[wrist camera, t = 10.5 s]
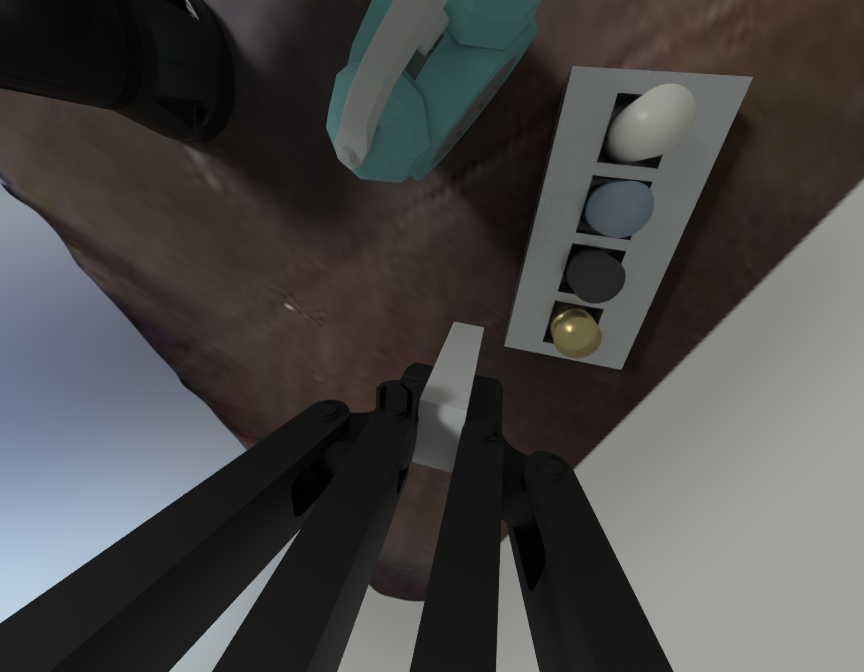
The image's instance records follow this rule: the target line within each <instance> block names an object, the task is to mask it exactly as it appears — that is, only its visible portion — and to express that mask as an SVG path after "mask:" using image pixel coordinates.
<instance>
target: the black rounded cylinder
mask: <svg viewBox="0 0 864 672" xmlns="http://www.w3.org/2000/svg"><path fill="white" fill-rule="evenodd" d="M563 273H564V276H565V278H566V280H567V281H568V283H569V284H570V286H571V288H572V289H573V291H574V292H575V294H576V295H577V297H578V298H580V299H581V300H583V301H585V302H587V303H593V304H598V303H603V302H606V301H609V300H611V299H612V298H614V297H615V296H616V295H617V294H618V293H619V292H620V291H621V290H622V288H623V286H624V283H625V279H626V274H625V270H624V268H623V266H622V264H621V263H620V262H619V261H617V260H616V259H614V258H613V257H611V256H610V255H608V254H607V253H605V252H604V251H602V250H601V249H599V248H597V247H594V246H582V247H579V248H577V249H575V250H573V251H572V252H571V253H570V254H569V255H568V259H567V262H566V265H565V269H564V272H563Z"/></svg>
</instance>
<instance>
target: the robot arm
mask: <svg viewBox="0 0 864 672" xmlns="http://www.w3.org/2000/svg"><path fill="white" fill-rule="evenodd" d="M0 88H1V89H6V90H11V91H17V92H22V93H27V94H32V95H37V96H43V97H48V98H53V99H58V100H63V101H68V102H73V103H78V104H83V105H88V106H94V107H99V108H104V109H109V110H113V111H115V112H117V113H119V114H121V115H123V116H125V117H127V118H129V119H131V120H133V121H135V122H137V123H139V124H140V125H142V126H144V127H146V128H148V129H150V130H152V131H154V132H156V133H158V134H160V135H163V136H165V137H168V138H171V139H176V140H182V141H188V142H202V141H206V140H209V139H211V138H212V137H214V136H215V135H216V134H218V133H219V132H220V130H221V129H222V128H223V126H224V125H225V123H226V121H227V119H228V117H229V114H230V111H231V107H232V102H233V93H234V80H233V70H232V64H231V59H230V55H229V51H228V48H227V45H226V42H225V39H224V37H223V35H222V32H221V30H220V28H219V26H218V24H217V22H216V20H215V19H214V17H213V15H212V14H211V12H210V11H209V9H208V8H207V7H206V5H205V4H204V3H203V2H202V0H0ZM483 330H484V327H479V326H473V325H468V324H463V323H458V322H454V323H453V325H452V328H451V330H450V332H449V334H448V337H447V339H446V341H445V343H444V346H443V348H442V350H441V353H440V355H439V357H438V359H437V362H436V364H435V366H429V365H425V364H420V363H414V364H412V365H411V366H409V367H407V369H406V371H405V372H404V374H403V376H402V377H401V379H400V381H399V380H392V381H386V382H384V383H381V384H380V385H379V386H378V387H377V392H376V409H375V410H374V411H372V412H366V413H350V410H349V408H348V406H347V405H346V404H344V403H343V402H341V401H337V400H324V401H320V402H317V403H315V404H313V405H312V406H310V407H309V408H307V409H306V410H304V411H303V412H302V413H300V414H299V415H297V416H296V417H294V418H293V419H292V420H290V421H289V422H287V423H286V424H284V425H283V426H282V427H280V428H279V429H277V430H276V431H274V432H273V433H272V434H270V435H269V436H267V437H266V438H264V439H263V440H262V441H260V442H259V443H257V444H256V445H254V446H253V447H252V448H250V449H249V450H247V451H246V452H244V453H243V454H242V455H240V456H239V457H237V458H236V459H234V460H233V461H232V462H230V463H229V464H227V465H226V466H224V467H223V468H222V469H220V470H219V471H217V472H216V473H214V474H213V475H212V476H210V477H209V478H207V479H206V480H204V481H203V482H202V483H200V484H199V485H197V486H196V487H194V488H193V489H192V490H190V491H189V492H188V493H186V494H184V495H183V496H182V497H180V498H179V499H177V500H176V501H174V502H173V503H172V504H170V505H169V506H167V507H166V508H165V509H163V510H162V511H160V512H159V513H157V514H156V515H155V516H153V517H152V518H150V519H149V520H147V521H146V522H144V523H143V524H142V525H140V526H139V527H137V528H136V529H134V530H133V531H132V532H130V533H129V534H127V535H126V536H125V537H123V538H122V539H120V540H119V541H117V542H116V543H114V544H113V545H112V546H110V547H109V548H107V549H106V550H104V551H103V552H102V553H100V554H99V555H98V556H96V557H94V558H93V559H92V560H90V561H89V562H87V563H86V564H84V565H83V566H82V567H80V568H79V569H77V570H76V571H74V572H73V573H72V574H70V575H69V576H67V577H66V578H64V579H63V580H62V581H60V582H59V583H57V584H56V585H55V586H53V587H52V588H50V589H49V590H47V591H46V592H45V593H43V594H42V595H40V596H39V597H37V598H36V599H34V600H33V601H32V602H30V603H29V604H28V605H26V606H25V607H23V608H22V609H20V610H19V611H17V612H16V613H14V614H13V615H12V616H10V617H9V618H7V619H6V620H4V621H3V622H2V623H0V672H169V671H170V670H171V668H173V667H174V665H175V664H176V663H177V662H178V661H179V660H180V659H181V658H182V657H183V656H184V655H185V653H186V652H187V651H188V650H189V649H190V648H191V647H192V646H193V645H194V644H195V643H196V642H197V640H198V639H199V638H200V637H201V636H202V635H203V634H204V633H205V632H206V631H207V629H208V628H210V626H211V625H212V624H213V623H214V622H215V621H216V620H217V619H218V618H219V617H220V616H221V614H222V613H223V612H224V611H225V610H226V609H227V608H228V607H229V606H230V605H231V604H232V603H233V601H234V600H235V599H236V598H237V597H238V596H239V595H240V594H241V593H242V592H243V591H244V590H245V588H246V587H247V586H248V585H249V584H250V583H251V582H252V581H253V580H254V579H255V578H256V577H257V575H258V574H259V573H260V572H261V571H262V570H263V569H264V568H265V567H266V566H267V565H268V564H269V562H270V561H271V560H272V559H273V558H274V557H275V556H276V555H277V554H278V553H279V552H280V551H281V549H282V548H283V547H284V546H285V545H286V544H287V543H288V542H289V541H290V540H291V539H292V538H293V536H294V535H295V534H296V533H297V532H298V531H299V530H300V531H299V533H298V534H297V536H296V538H295V539H294V541H293V542H292V544H291V545H290V547H289V549H288V550H287V552H286V554H285V555H284V557H283V558H282V560H281V562H280V563H279V565H278V566H277V568H276V570H275V571H274V573H273V574H272V576H271V578H270V579H269V581H268V583H267V584H266V586H265V587H264V589H263V591H262V592H261V594H260V595H259V597H258V599H257V600H256V602H255V603H254V605H253V607H252V608H251V610H250V611H249V613H248V615H247V616H246V618H245V619H244V621H243V623H242V624H241V626H240V628H239V629H238V631H237V632H236V634H235V636H234V637H233V639H232V640H231V642H230V644H229V645H228V647H227V648H226V650H225V652H224V653H223V655H222V657H221V658H220V660H219V661H218V663H217V665H216V666H215V668H214V669H213V671H212V672H337V670H338V668H339V665H340V662H341V659H342V657H343V654H344V651H345V648H346V646H347V643H348V640H349V637H350V634H351V632H352V629H353V626H354V623H355V621H356V618H357V615H358V612H359V610H360V607H361V604H362V601H363V599H364V596H365V593H366V590H367V587H368V585H369V582H370V579H371V576H372V574H373V571H374V568H375V565H376V563H377V560H378V557H379V554H380V552H381V549H382V546H383V543H384V540H385V538H386V535H387V532H388V529H389V527H390V524H391V521H392V518H393V516H394V513H395V510H396V507H397V505H398V502H399V499H400V496H401V493H402V491H403V488H404V485H405V482H406V480H407V477H408V472H409V464H410V461H411V459H412V456H413V461H412V462H414V463H418V464H422V465H425V466H429V467H433V468H437V469H440V470H444V471H448V472H451V473H452V477H451V481H450V486H449V491H448V495H447V500H446V504H445V509H444V514H443V518H442V523H441V528H440V532H439V537H438V542H437V546H436V551H435V556H434V560H433V565H432V570H431V574H430V579H429V584H428V588H427V593H426V597H425V602H424V607H423V611H422V617H421V621H420V625H419V630H418V635H417V639H416V644H415V649H414V653H413V658H412V663H411V667H410V672H496V651H497V624H498V596H499V595H498V594H499V566H500V540H501V519H502V520H504V521H505V522H507V529H508V533H509V537H510V542H511V546H512V551H513V556H514V560H515V564H516V569H517V573H518V577H519V582H520V587H521V591H522V596H523V600H524V605H525V609H526V613H527V618H528V622H529V627H530V631H531V636H532V640H533V644H534V649H535V654H536V658H537V662H538V666H539V671H540V672H673V670H672V668H671V666H670V664H669V662H668V660H667V658H666V656H665V654H664V652H663V650H662V648H661V646H660V644H659V642H658V640H657V638H656V636H655V634H654V632H653V630H652V628H651V626H650V624H649V622H648V620H647V618H646V615H645V614H644V612H643V609H642V607H641V606H640V603H639V601H638V599H637V597H636V596H635V593H634V591H633V589H632V587H631V585H630V583H629V582H628V579H627V577H626V575H625V574H624V571H623V569H622V567H621V565H620V563H619V561H618V559H617V558H616V555H615V553H614V551H613V549H612V547H611V545H610V543H609V541H608V539H607V537H606V535H605V533H604V531H603V529H602V527H601V525H600V523H599V521H598V519H597V517H596V515H595V513H594V511H593V509H592V507H591V505H590V503H589V501H588V499H587V497H586V495H585V493H584V491H583V489H582V487H581V485H580V483H579V481H578V479H577V477H576V475H575V473H574V471H573V469H572V468H571V467H570V465H569V464H568V463H567V462H566V461H565V460H563V459H562V458H561V457H559V456H557V455H555V454H553V453H550V452H546V451H536V452H534V453H532V454H530V455H529V456H527V455H525V454H523V453H521V452H519V451H518V450H516V449H514V448H513V447H512V446H511V445H509V444H508V443H507V441H506V440H505V439H504V437H503V434H502V430H501V428H502V403H503V387H502V385H501V383H500V382H499V380H497V379H493V378H488V377H483V376H479V375H474V374H475V369H476V364H477V360H478V355H479V350H480V345H481V340H482V335H483Z"/></svg>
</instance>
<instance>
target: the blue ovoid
mask: <svg viewBox="0 0 864 672" xmlns="http://www.w3.org/2000/svg"><path fill="white" fill-rule="evenodd" d="M653 210H654V197H653V194H652V192H651V190H650V189H649V188H648V187H647V186H646V185H644V184H643V183H640V182H637V181H622V182H611V183H603V184H600V185H598V186H596V187H594V188H593V189H592V190H590V191H589V192H588V194H587V196H586V199H585V203H584V206H583V209H582V213H581V218H582V220H583V222H584V223H585V224H586V225H587V226H588V227H589V228H591V229H593V230H596V231H598V232H600V233H602V234H604V235H606V236H609V237H612V238H623V237H627V236H630V235H633V234H635V233H636V232H638V231H639V230H641V229H642V228H643V227H644V226H645V225H646V224H647V222H648V221H649V219H650V218H651V215H652V213H653Z"/></svg>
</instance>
